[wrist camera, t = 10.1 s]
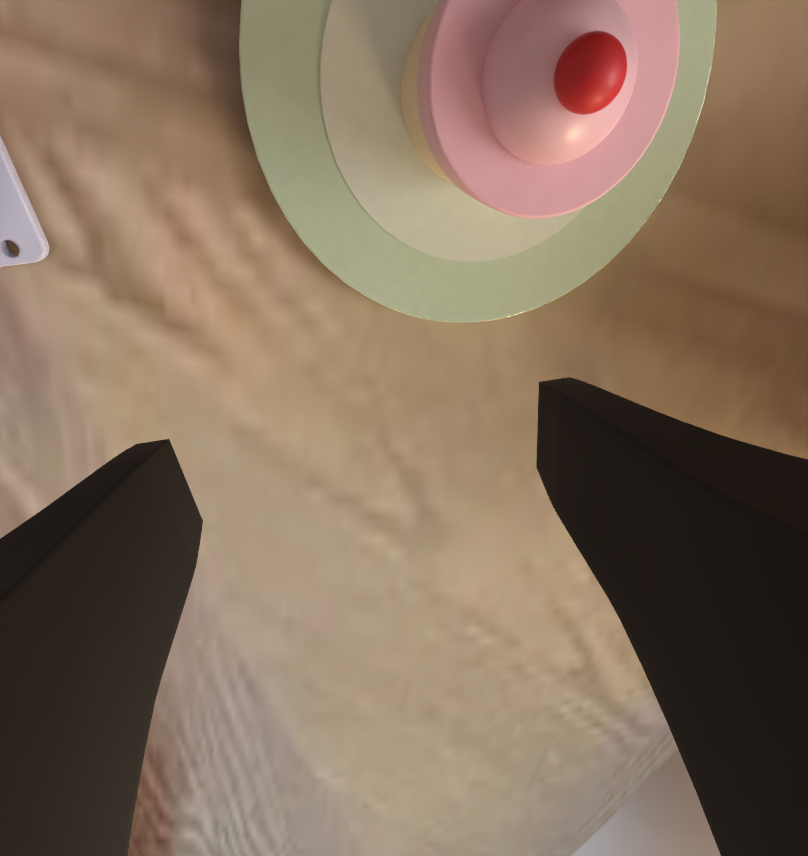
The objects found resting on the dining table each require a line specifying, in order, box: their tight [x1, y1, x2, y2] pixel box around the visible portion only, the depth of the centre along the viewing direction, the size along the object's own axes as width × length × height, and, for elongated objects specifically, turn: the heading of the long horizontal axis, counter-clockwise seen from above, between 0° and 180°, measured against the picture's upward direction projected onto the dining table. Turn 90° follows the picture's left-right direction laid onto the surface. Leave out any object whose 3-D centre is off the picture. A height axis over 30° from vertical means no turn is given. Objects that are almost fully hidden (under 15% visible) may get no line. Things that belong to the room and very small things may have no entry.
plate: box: [239, 0, 717, 323], centre depth 15 cm, size 14×14×1 cm
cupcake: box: [401, 0, 680, 219], centre depth 12 cm, size 5×5×8 cm
